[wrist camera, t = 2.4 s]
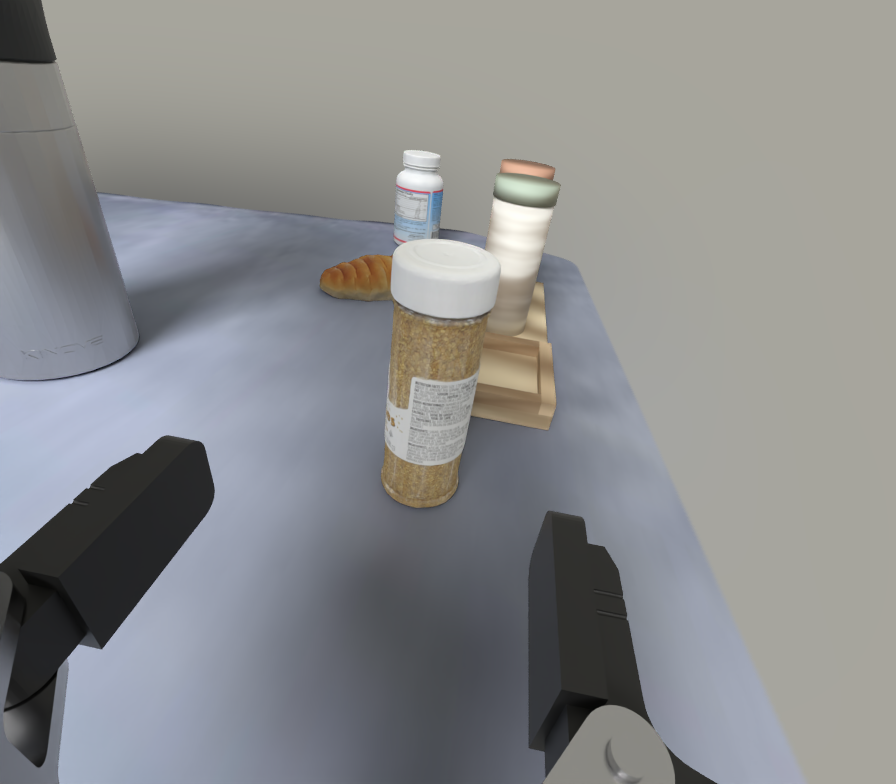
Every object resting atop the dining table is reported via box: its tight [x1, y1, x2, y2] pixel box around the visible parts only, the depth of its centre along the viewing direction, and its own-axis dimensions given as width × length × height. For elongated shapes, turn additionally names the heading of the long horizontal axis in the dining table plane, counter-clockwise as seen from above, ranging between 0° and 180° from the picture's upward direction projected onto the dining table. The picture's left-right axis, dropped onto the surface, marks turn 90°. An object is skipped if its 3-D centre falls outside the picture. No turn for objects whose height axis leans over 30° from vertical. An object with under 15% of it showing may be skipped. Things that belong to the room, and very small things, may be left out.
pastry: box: [320, 255, 393, 301], centre depth 47 cm, size 9×7×4 cm
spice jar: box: [381, 239, 501, 508], centre depth 22 cm, size 5×5×14 cm
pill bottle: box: [394, 150, 443, 246], centre depth 59 cm, size 6×6×11 cm
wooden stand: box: [471, 159, 561, 430], centre depth 39 cm, size 26×9×14 cm, turn 171°
